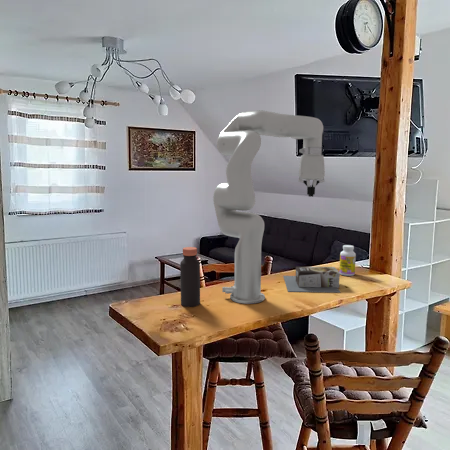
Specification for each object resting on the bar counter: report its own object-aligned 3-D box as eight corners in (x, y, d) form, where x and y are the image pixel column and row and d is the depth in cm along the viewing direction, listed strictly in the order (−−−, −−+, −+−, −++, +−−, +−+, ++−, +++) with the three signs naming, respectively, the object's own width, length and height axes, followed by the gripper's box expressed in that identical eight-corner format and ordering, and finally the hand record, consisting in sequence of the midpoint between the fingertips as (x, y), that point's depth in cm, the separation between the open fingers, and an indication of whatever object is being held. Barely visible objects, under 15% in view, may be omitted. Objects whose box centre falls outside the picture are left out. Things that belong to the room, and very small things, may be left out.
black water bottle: (203, 302, 151) (202, 247, 148) (194, 308, 145) (194, 251, 142) (186, 299, 153) (185, 245, 150) (177, 305, 147) (176, 249, 144)
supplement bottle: (336, 274, 187) (338, 246, 185) (342, 271, 192) (343, 243, 191) (351, 277, 183) (353, 248, 181) (356, 274, 189) (358, 245, 187)
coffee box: (340, 272, 166) (298, 272, 166) (339, 288, 167) (298, 287, 167) (334, 266, 175) (295, 266, 175) (333, 281, 176) (294, 281, 176)
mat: (287, 291, 163) (287, 291, 163) (283, 276, 185) (283, 275, 184) (340, 292, 162) (340, 292, 162) (329, 277, 183) (329, 276, 183)
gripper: (294, 151, 171) (293, 197, 174) (332, 151, 170) (330, 197, 173) (293, 152, 179) (292, 195, 182) (328, 152, 178) (327, 195, 181)
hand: (310, 196), depth 177 cm, fingers closed
